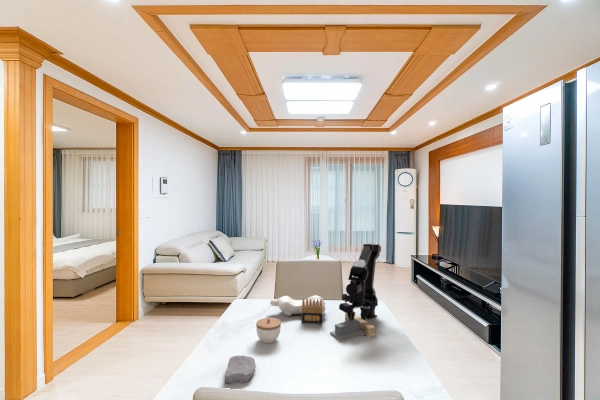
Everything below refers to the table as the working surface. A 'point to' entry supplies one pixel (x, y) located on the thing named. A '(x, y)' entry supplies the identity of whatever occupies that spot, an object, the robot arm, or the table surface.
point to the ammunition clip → (312, 312)
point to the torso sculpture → (294, 304)
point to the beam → (363, 325)
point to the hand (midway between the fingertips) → (356, 323)
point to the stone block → (239, 369)
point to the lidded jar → (268, 329)
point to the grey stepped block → (347, 330)
